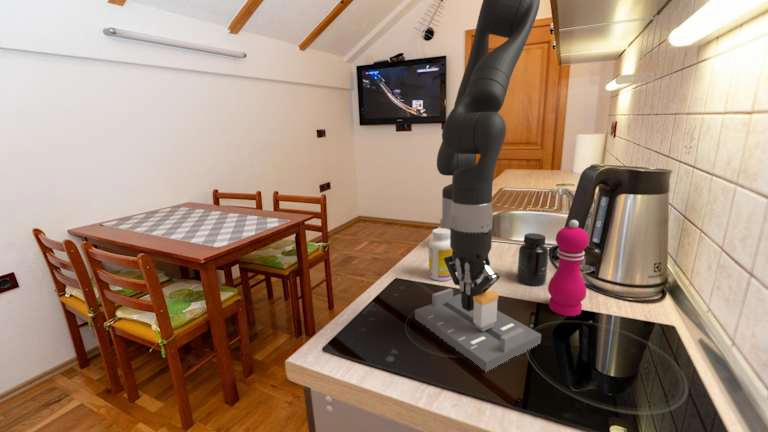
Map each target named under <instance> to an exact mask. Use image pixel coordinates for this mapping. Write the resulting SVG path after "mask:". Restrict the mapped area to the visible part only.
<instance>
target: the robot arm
mask: <svg viewBox="0 0 768 432" xmlns="http://www.w3.org/2000/svg"><path fill="white" fill-rule="evenodd" d="M540 4H541V0H482V3H481V6H480V10H479V14H478V17H477V21H476V22H477V24H476V27H475V32H474V36H473V40H472V45H471V48H470V52H469V56H468V59H467V63H466V66H465V69H464V73H463V76H462V79H461V81H460V84H459V87H458V91H457V95H456V97H455V102H454V105H453V108H452V110H450V112H449V113H448V115H447V116H446V117H447V118H446V119H445V122H444V124H443V127H442V131H441V137H442V141H441V144H440V146H439V149H438V153H437V157H436V169H437V171H438V172H439V174H440V175H443V176H448V177H449V176H452V178H451V179H452V180H451V181H452V182H451V183H450V184H448V185H446V186H444V187H443V188H442V192H441V193H442V195H441V196H442V201H441V203H442V206H441V207H442V212H441V213H442V214H441V215H442V216H441V218H440V221H439V222H440V223H439V225H440V226H439V228H445V229H449V230H450V247H451V249H452V250H453V251H452V255H451V256H448V257H445V258H444V261H445V263H446V266H447V268H448V270H449V273H450V275H451V277H452V279H451V280H452V282H453V285H455V286H458V287H459V290H460V292H461V293H460V294H461V303H462V308H463V309H465V310H466V311H471V310H474V301H473V296H476V295H479V294H481V293H484V292H487V291H489V289H490V288H491V287H492V286H493V285H494V284H495V283H496V282H498V280H499V279H500V274H499V273H497V272H495V273H494V272H493V270H492V269H491V266H490V265H491V262H490V258H489V253H490V251H491V249H492V239H493V219H494V218H493V216H494V214H493V204H492V203H493V184H494V183H493V180H494V175H495V170H496V166H497V163H498V159H499V157H500V153H501V150H502V148H503V145H504V141H505V139H506V133H507V125H506V122H505V120H504V117H503V116H502V115H501V114H500V113H499V111H501V109H502V107H503V105H504V103H505V99H506V95H507V92H508V88H509V87H510V86H509V85H510V81H511V78H512V75H513V72H514V70H515V68H516V65H517V63H518V62H519V60H520V57H521V55H522V53H523V50H524V48H525V46H526V44H527V42H528V39H529V37H530V35H531V32H532V29H533V27H534V24H535V22H536V18H537V16H538V12H539V9H540ZM490 35H493V36H496V37H500V38H505V39H506V40H505V41H504V42H503V43H501V44H500V45H498V46H497V47H495V48H494V49H492V50H490V49H489V47H490V46H489V42H490ZM477 155H480V156H479V158H478V160H477Z"/></svg>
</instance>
